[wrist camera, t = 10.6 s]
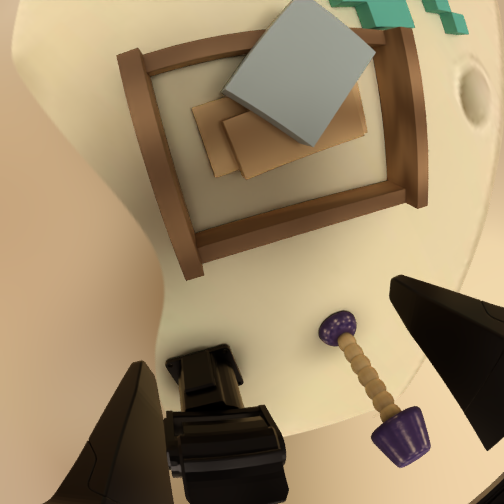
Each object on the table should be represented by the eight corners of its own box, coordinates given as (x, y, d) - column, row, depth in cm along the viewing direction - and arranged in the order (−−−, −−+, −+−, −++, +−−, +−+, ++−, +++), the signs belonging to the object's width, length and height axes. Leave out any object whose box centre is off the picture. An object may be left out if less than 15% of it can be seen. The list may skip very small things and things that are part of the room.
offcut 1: (357, 130, 21) (367, 132, 20) (213, 173, 20) (215, 177, 19) (344, 71, 18) (354, 70, 17) (191, 108, 18) (191, 107, 16)
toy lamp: (344, 342, 31) (421, 460, 16) (308, 347, 30) (380, 481, 15) (359, 309, 29) (453, 431, 14) (321, 311, 28) (413, 454, 13)
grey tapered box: (359, 56, 15) (300, 143, 18) (289, 2, 13) (220, 92, 15) (375, 52, 14) (313, 147, 16) (301, -8, 11) (225, 89, 13)
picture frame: (397, 191, 23) (427, 205, 20) (184, 252, 21) (185, 280, 18) (379, 35, 17) (411, 28, 13) (128, 66, 15) (116, 55, 11)
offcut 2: (353, 133, 19) (364, 135, 18) (241, 175, 19) (246, 179, 18) (338, 82, 17) (349, 81, 16) (219, 120, 17) (223, 121, 16)
